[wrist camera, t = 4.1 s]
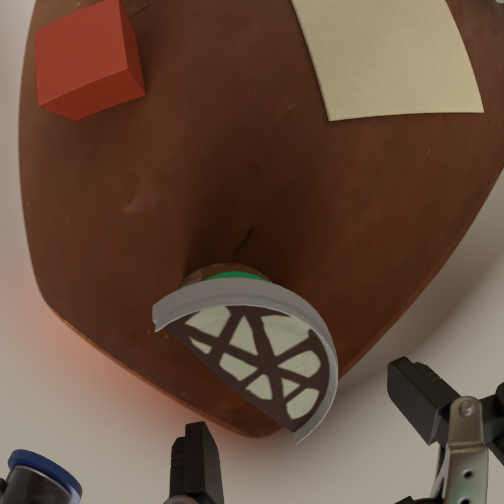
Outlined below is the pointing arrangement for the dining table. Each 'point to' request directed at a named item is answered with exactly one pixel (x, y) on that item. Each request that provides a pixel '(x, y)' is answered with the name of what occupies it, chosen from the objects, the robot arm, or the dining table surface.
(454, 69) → the linen cloth
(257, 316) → the food container
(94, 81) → the red block
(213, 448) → the robot arm
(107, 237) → the dining table surface
